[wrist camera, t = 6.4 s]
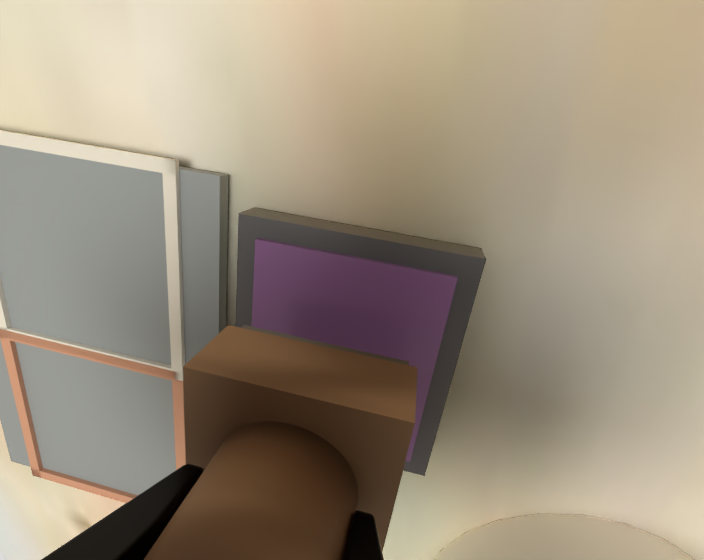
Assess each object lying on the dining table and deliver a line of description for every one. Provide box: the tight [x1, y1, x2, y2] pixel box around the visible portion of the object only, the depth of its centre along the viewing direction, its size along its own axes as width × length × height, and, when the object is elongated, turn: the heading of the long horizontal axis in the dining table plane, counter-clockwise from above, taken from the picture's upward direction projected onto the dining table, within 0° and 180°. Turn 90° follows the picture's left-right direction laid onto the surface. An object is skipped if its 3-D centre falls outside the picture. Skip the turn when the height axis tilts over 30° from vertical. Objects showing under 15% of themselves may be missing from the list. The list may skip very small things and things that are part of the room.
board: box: [0, 130, 229, 503], centre depth 17 cm, size 12×18×1 cm
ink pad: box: [236, 208, 486, 476], centre depth 14 cm, size 8×9×1 cm
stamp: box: [144, 325, 417, 560], centre depth 8 cm, size 5×5×6 cm
